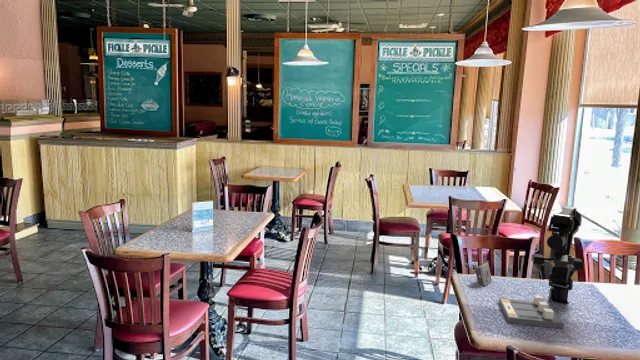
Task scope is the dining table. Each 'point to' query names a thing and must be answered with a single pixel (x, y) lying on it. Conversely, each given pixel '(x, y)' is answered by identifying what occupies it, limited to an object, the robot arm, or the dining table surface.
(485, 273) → the electrical switch
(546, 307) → the tab
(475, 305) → the dining table surface
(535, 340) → the dining table surface
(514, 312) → the switch panel
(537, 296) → the beige cube
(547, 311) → the tab
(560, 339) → the dining table surface
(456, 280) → the dining table surface
